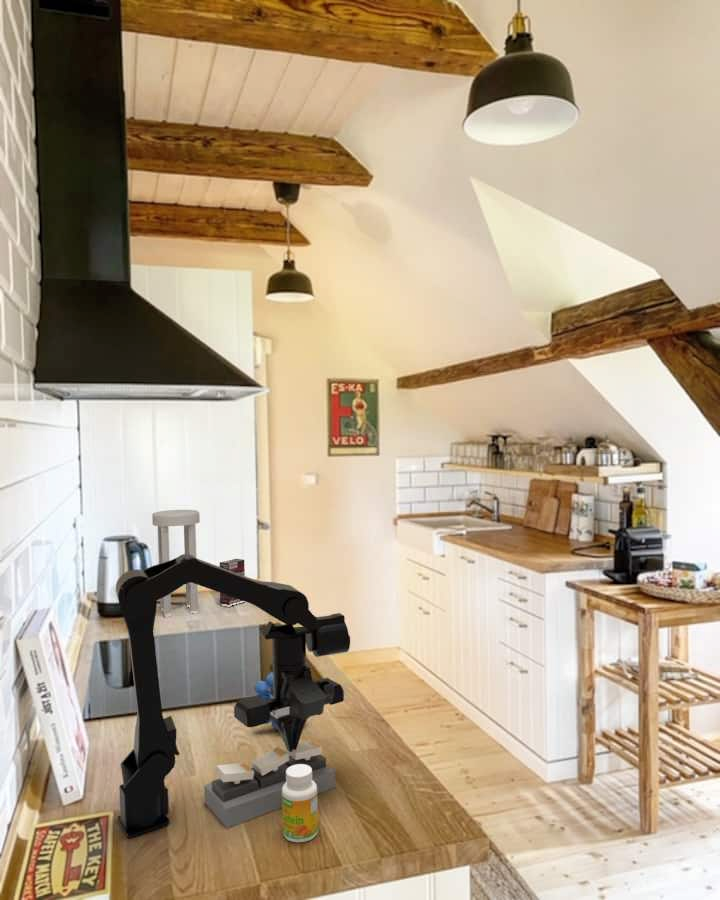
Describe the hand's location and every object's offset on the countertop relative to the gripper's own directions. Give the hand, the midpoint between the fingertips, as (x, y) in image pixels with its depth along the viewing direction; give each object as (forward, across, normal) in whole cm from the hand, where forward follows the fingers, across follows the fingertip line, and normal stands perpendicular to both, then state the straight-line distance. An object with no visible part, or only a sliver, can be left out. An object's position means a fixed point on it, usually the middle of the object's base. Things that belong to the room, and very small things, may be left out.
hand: (291, 750), depth 117 cm
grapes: (+7, +9, +21) cm, 24 cm away
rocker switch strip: (+6, -4, 0) cm, 8 cm away
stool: (+6, +26, +129) cm, 132 cm away
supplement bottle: (+7, -6, -12) cm, 15 cm away
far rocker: (+2, +2, 0) cm, 3 cm away
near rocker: (+2, -11, 0) cm, 11 cm away
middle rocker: (+2, -4, 0) cm, 4 cm away
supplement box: (+6, +45, +126) cm, 134 cm away
